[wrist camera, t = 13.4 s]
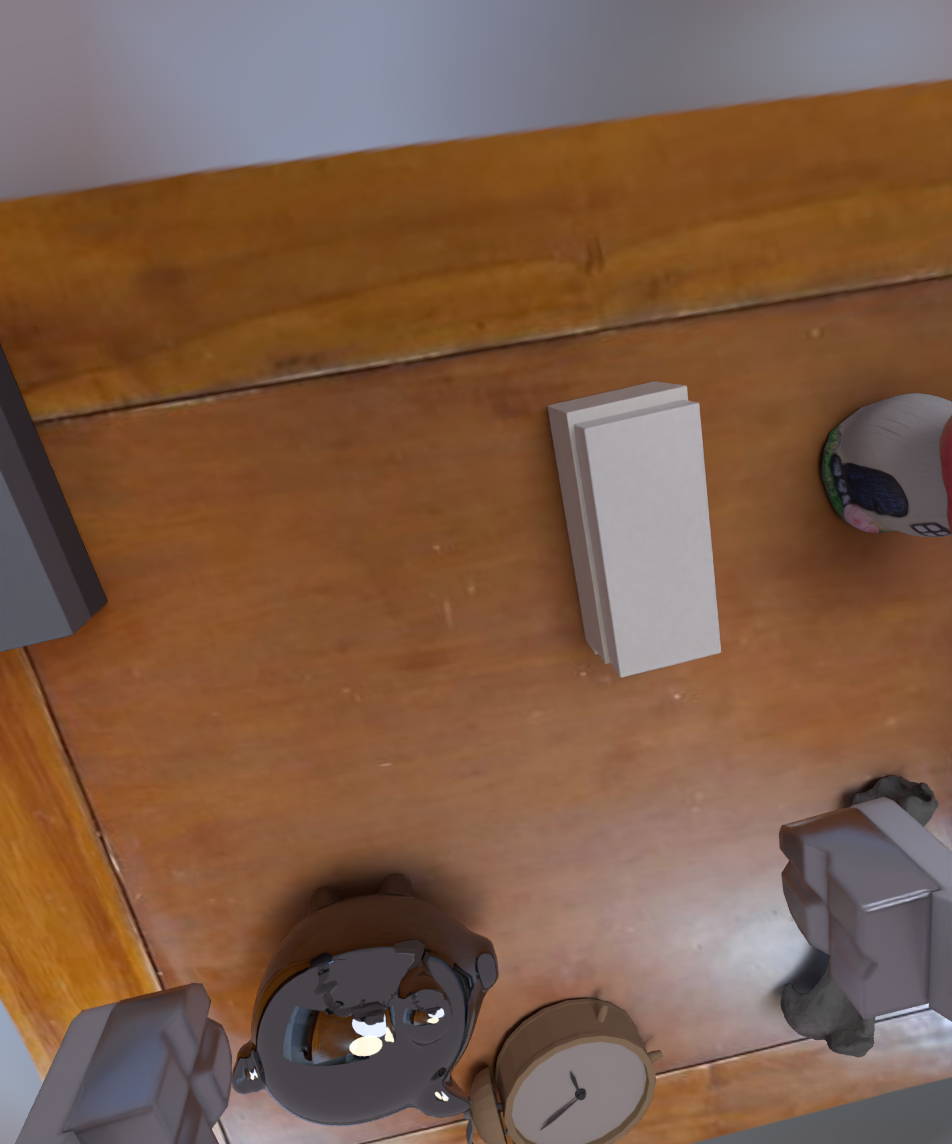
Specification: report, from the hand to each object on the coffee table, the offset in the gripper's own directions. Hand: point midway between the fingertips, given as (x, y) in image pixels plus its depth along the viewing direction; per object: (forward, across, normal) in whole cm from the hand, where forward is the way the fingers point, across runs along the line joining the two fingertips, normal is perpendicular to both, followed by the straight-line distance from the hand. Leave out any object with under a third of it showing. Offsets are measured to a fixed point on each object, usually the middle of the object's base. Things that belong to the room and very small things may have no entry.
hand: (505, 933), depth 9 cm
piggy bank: (+29, +9, +27) cm, 41 cm away
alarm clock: (+29, 0, +45) cm, 54 cm away
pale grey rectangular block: (+25, -11, +4) cm, 28 cm away
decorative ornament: (+29, -26, +4) cm, 39 cm away
